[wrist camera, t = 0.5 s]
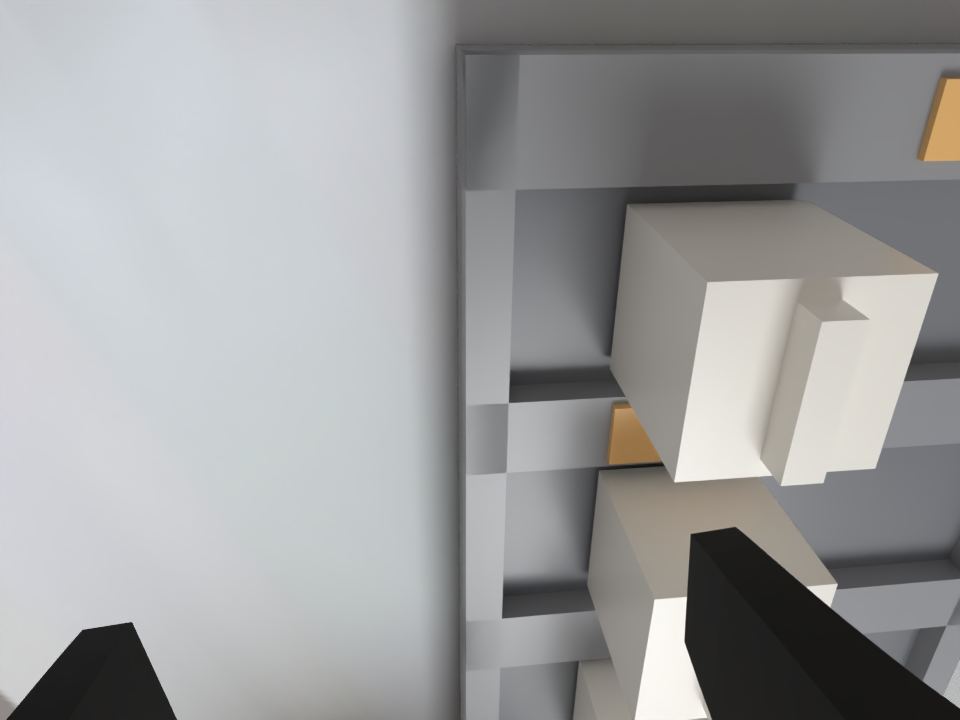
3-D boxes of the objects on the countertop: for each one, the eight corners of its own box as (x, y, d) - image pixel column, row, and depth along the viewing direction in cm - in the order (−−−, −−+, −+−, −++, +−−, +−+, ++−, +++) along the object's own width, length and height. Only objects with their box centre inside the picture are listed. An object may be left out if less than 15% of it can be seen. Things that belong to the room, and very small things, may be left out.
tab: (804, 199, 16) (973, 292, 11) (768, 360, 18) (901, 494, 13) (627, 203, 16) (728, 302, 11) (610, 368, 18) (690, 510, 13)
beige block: (747, 460, 19) (859, 612, 15) (722, 573, 21) (815, 739, 17) (599, 470, 19) (667, 630, 14) (587, 584, 21) (644, 758, 16)
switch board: (1150, 43, 17) (1249, 53, 15) (875, 721, 28) (911, 776, 26) (455, 44, 15) (466, 55, 13) (460, 766, 26) (466, 828, 25)
